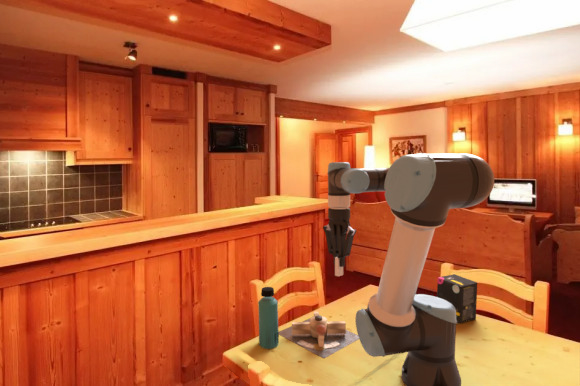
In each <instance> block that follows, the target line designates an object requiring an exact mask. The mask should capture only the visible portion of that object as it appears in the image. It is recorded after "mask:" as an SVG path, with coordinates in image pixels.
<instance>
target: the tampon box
mask: <svg viewBox="0 0 580 386" xmlns="http://www.w3.org/2000/svg"><path fill="white" fill-rule="evenodd" d="M436 287H437V288H436V297H438V298H441V299H444V300H446V301H448V302H450V303H451V304H452V305H453V306H454V307H455V309H456V320H457V323H456V325H460V324H463V323H467V322H470V321H475V320H476V319H477V303H478V301H477V299H478V282H477V281H475V280H472V279H468V278H465V277H464V276H461V275H459V274H458V275H457V274H449V275H448V274H447V275H444V276H443V275H442V276H438V277H437V285H436Z"/></svg>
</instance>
